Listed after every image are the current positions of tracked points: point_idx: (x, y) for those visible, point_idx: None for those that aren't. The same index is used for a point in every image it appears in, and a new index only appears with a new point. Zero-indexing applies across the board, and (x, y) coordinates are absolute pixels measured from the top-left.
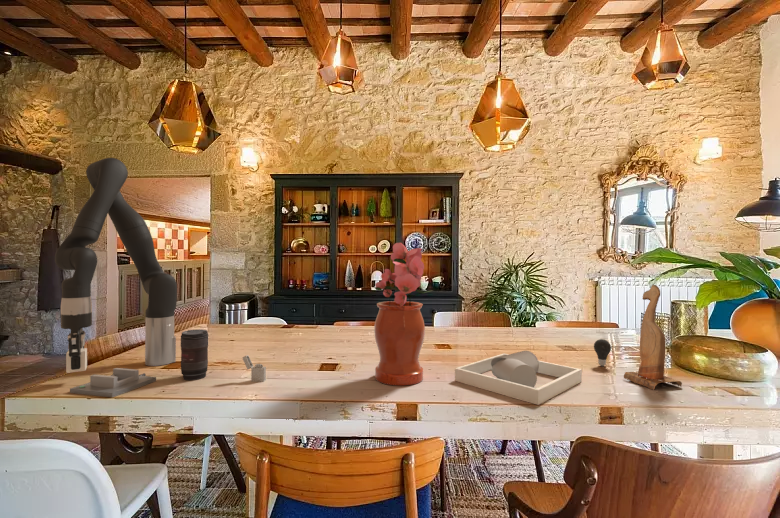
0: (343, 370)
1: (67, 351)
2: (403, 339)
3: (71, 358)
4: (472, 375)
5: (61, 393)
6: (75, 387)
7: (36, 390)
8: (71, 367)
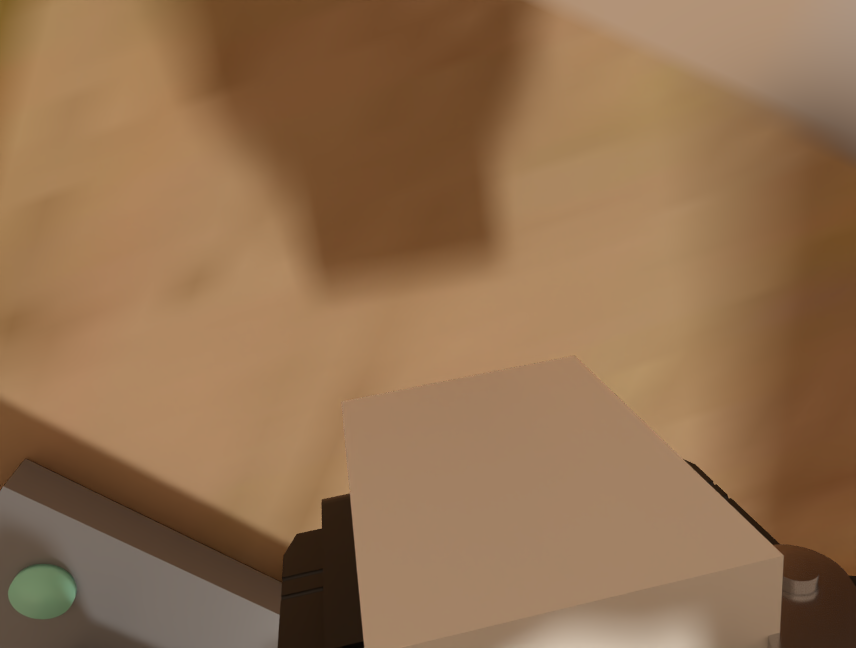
0: None
1: (589, 603)
2: None
3: (321, 645)
4: None
5: (27, 379)
6: (42, 527)
7: (270, 29)
8: (326, 516)
